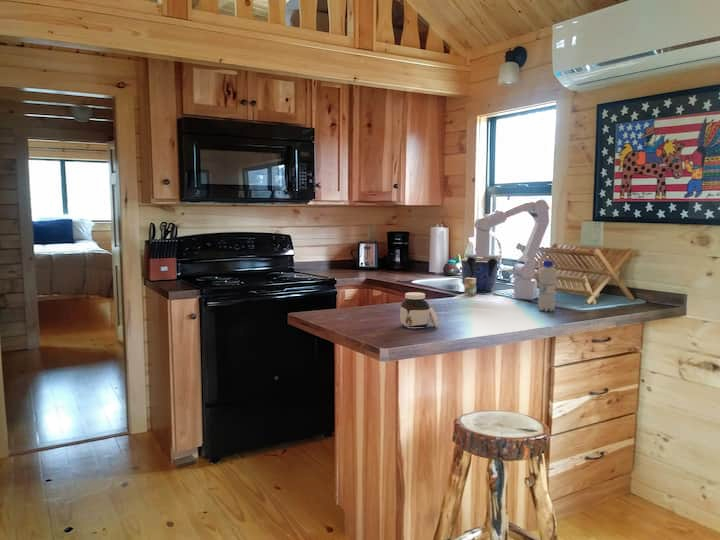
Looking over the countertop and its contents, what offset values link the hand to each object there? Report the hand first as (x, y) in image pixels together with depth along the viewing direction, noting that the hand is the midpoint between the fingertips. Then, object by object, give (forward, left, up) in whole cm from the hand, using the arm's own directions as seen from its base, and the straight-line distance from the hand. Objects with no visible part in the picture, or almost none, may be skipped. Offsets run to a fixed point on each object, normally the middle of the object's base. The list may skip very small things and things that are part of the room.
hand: (481, 275), depth 254 cm
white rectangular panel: (+1, 0, -10) cm, 10 cm away
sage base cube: (+6, -3, -10) cm, 12 cm away
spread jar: (-1, +65, -11) cm, 66 cm away
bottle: (-31, +12, -11) cm, 35 cm away
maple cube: (+6, -3, -6) cm, 9 cm away
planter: (+8, -20, -11) cm, 24 cm away
